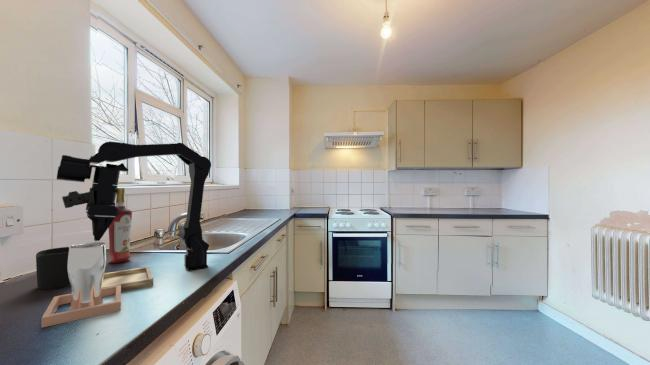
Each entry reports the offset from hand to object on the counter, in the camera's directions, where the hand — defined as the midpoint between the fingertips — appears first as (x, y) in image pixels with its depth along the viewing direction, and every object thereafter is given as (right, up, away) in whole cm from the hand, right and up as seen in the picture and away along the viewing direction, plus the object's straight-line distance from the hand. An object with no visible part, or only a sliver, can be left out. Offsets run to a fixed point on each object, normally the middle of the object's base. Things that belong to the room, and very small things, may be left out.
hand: (96, 238), depth 77 cm
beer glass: (+9, -14, -13) cm, 21 cm away
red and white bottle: (-12, -14, +24) cm, 31 cm away
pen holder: (-12, -14, +2) cm, 19 cm away
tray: (+6, -14, +3) cm, 16 cm away
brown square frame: (+9, -14, -13) cm, 21 cm away
